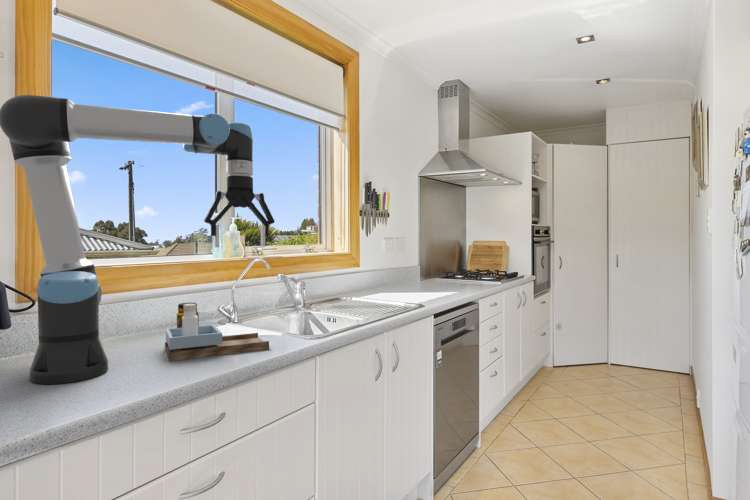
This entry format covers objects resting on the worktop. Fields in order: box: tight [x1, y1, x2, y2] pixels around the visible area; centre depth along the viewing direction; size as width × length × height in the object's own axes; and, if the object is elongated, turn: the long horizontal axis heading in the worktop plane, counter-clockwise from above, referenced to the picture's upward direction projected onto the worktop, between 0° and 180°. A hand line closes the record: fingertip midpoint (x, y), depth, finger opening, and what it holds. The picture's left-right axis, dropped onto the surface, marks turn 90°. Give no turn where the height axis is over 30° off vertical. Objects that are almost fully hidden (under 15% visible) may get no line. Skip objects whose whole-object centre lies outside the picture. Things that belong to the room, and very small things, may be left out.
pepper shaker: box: [182, 303, 199, 336], centre depth 126 cm, size 4×4×10 cm
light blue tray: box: [165, 324, 223, 351], centre depth 126 cm, size 13×13×5 cm
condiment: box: [176, 302, 200, 328], centre depth 138 cm, size 7×8×12 cm
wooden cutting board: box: [164, 332, 270, 362], centre depth 129 cm, size 26×14×2 cm, turn 119°
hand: (240, 247), depth 138 cm, fingers open, 13 cm apart
